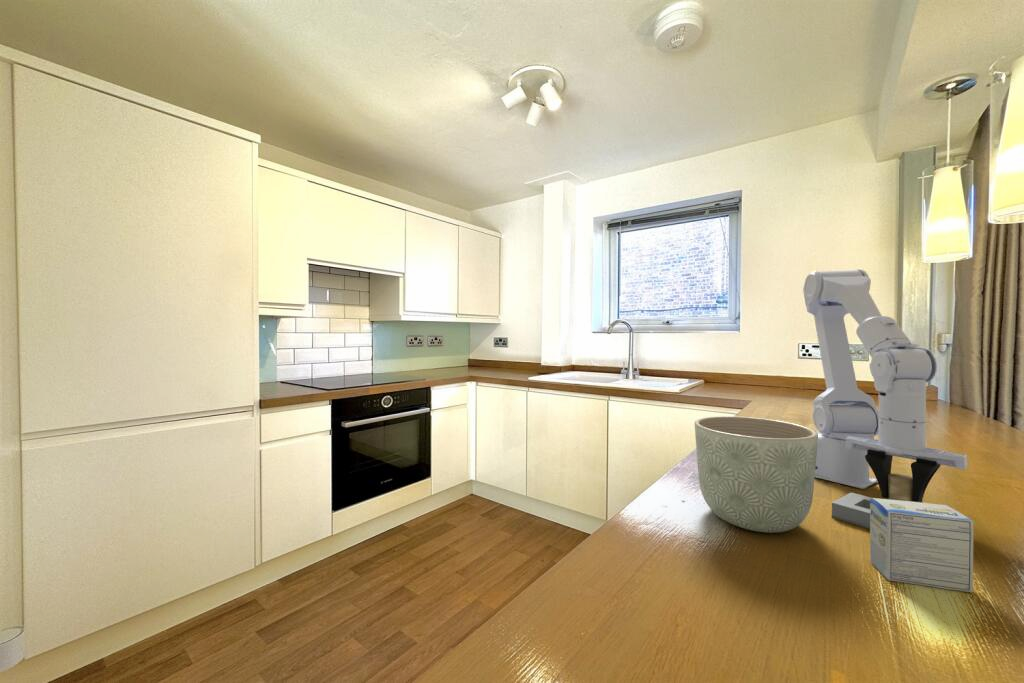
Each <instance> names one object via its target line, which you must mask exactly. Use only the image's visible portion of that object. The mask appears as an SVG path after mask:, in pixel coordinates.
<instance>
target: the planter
mask: <svg viewBox="0 0 1024 683" xmlns="http://www.w3.org/2000/svg"><path fill="white" fill-rule="evenodd" d="M818 433H819V432H817V431H816V430H814V429H812V428H811V427H807V426H805V425H801V424H797V423H793V422H787V421H782V420H777V419H769V418H763V417H762V418H761V417H760V418H759V417H752V416H735V415H733V416H732V415H731V416H730V415H726V416H724V415H722V416H721V415H720V416H719V415H717V416H709V417H708V416H706V417H701V418H698V419H696V420H695V421H694V434H695V436H694V437H695V448H696V461H697V463H696V464H697V474H698V483H699V488H700V491H701V494H702V497H703V499H704V501H705V504H706V505H707V506H708V507H709V509H710V510H711V511H712V512H713V513H714V514H715V516H717V517H719V518H720V519H721V520H723V521H725V522H727V523H729V524H731V525H733V526H736V527H739V528H741V529H745V530H749V531H752V532H759V533H766V534H767V533H768V534H773V533H774V534H775V533H777V534H778V533H784V532H788V531H791V530H793V529H795V528H797V527H798V526H800V525H801V524H802V523H803V522H804V521H805V519H806V518H807V517H808V514H809V513H810V510H811V509H812V508H811V507H812V504H813V497H814V489H815V488H814V487H815V479H816V477H815V467H816V456H817V446H818Z"/></svg>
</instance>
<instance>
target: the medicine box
mask: <svg viewBox="0 0 1024 683" xmlns="http://www.w3.org/2000/svg"><path fill="white" fill-rule="evenodd" d="M871 498H872V499H870V529H869V531H870V532H869V535H870V540H869V542H870V543H869V545H870V546H869V547H870V552H869V553H870V555H869V556H870V558H869V559H870V562H871V563H872V565H873V566H874V567H875V569H877V571H879V572H880V573H881V575H882V576H883V577H884V578H885V579H886V580H887V581H891V582H898V583H905V584H911V585H918V586H924V587H925V586H926V587H932V588H939V589H946V590H951V591H960V592H966V593H974V528H975V527H974V526H975V524H974V523H975V522H974V521H973V520H972V519H970V518H969V517H968V516H966V515H964V514H963V513H961V512H960V511H958V510H956V509H954V508H952V507H950V506H949V505H946V504H938V503H930V502H929V503H928V502H922V503H921V502H911V501H900V500H889V499H888V498H876V497H871Z"/></svg>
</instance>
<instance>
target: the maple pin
mask: <svg viewBox="0 0 1024 683" xmlns="http://www.w3.org/2000/svg"><path fill="white" fill-rule="evenodd" d="M912 492H913V479H912V476H910V475H905V474H901V473H891V474H888V498H887V499H889V500H900V501H911V502H912Z"/></svg>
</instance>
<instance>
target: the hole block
mask: <svg viewBox="0 0 1024 683" xmlns="http://www.w3.org/2000/svg"><path fill="white" fill-rule="evenodd" d="M872 498H873V497H870V496H866V495H862V494H858V493H855V492H849V493H848V494H846V495H844V496H841V497H840V498H838V499H836V500H834V501H831V518H833V517H834V519H835V520H836V519H837V520H840V521H843V522H847V523H850V524H853V525H856V526H860V527H863V528H866V529H869V530H870V499H872Z"/></svg>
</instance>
